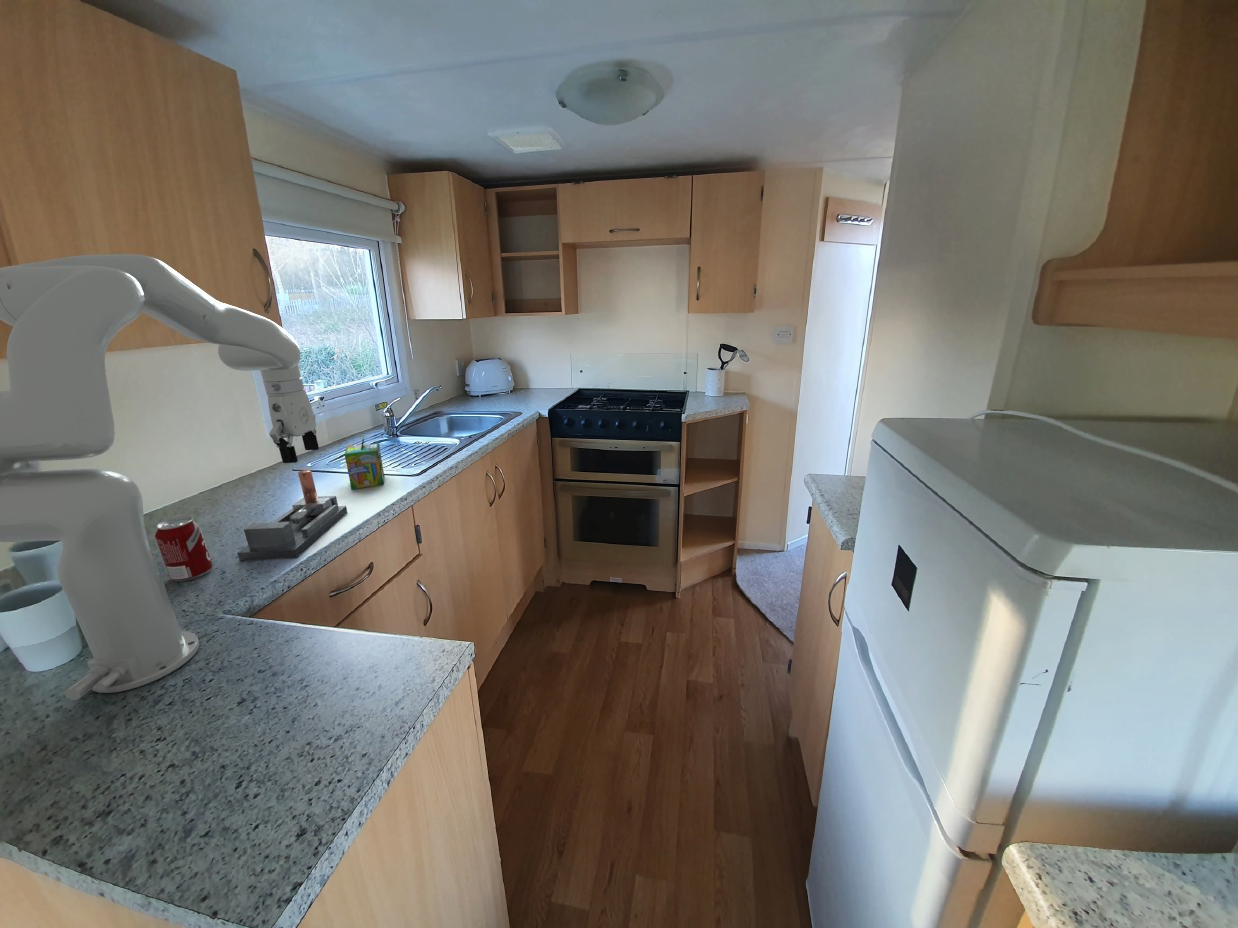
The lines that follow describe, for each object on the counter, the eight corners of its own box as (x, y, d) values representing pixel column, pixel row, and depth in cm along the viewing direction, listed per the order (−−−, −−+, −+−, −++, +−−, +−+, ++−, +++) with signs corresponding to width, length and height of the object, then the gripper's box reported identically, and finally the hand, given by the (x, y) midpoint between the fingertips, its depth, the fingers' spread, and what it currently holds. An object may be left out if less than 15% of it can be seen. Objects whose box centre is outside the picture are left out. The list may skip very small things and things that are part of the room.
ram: (312, 525, 116) (302, 482, 112) (280, 526, 115) (269, 483, 112) (333, 508, 125) (324, 468, 122) (303, 509, 125) (293, 469, 121)
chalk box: (353, 480, 152) (344, 435, 147) (385, 476, 155) (377, 431, 151) (350, 490, 144) (340, 442, 139) (384, 485, 147) (375, 439, 142)
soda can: (189, 585, 96) (170, 531, 92) (162, 582, 97) (142, 528, 93) (222, 567, 102) (205, 516, 98) (196, 565, 103) (179, 514, 100)
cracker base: (296, 558, 105) (289, 529, 103) (239, 560, 105) (230, 531, 102) (347, 512, 128) (342, 488, 126) (300, 514, 127) (294, 490, 125)
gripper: (279, 393, 105) (298, 467, 111) (319, 380, 121) (334, 445, 127) (243, 394, 105) (264, 468, 110) (289, 381, 121) (305, 446, 127)
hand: (301, 455), depth 119 cm, fingers open, 9 cm apart
